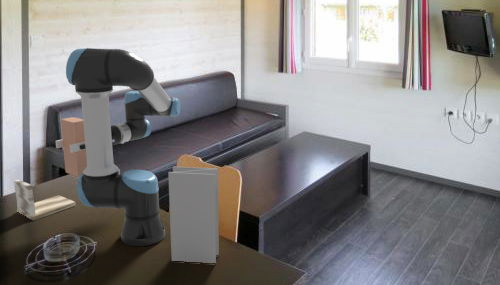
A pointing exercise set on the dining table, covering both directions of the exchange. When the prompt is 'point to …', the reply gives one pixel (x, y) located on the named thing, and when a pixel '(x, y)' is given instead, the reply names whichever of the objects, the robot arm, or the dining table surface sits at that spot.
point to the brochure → (194, 214)
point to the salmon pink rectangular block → (73, 135)
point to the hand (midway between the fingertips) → (63, 146)
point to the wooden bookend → (39, 208)
